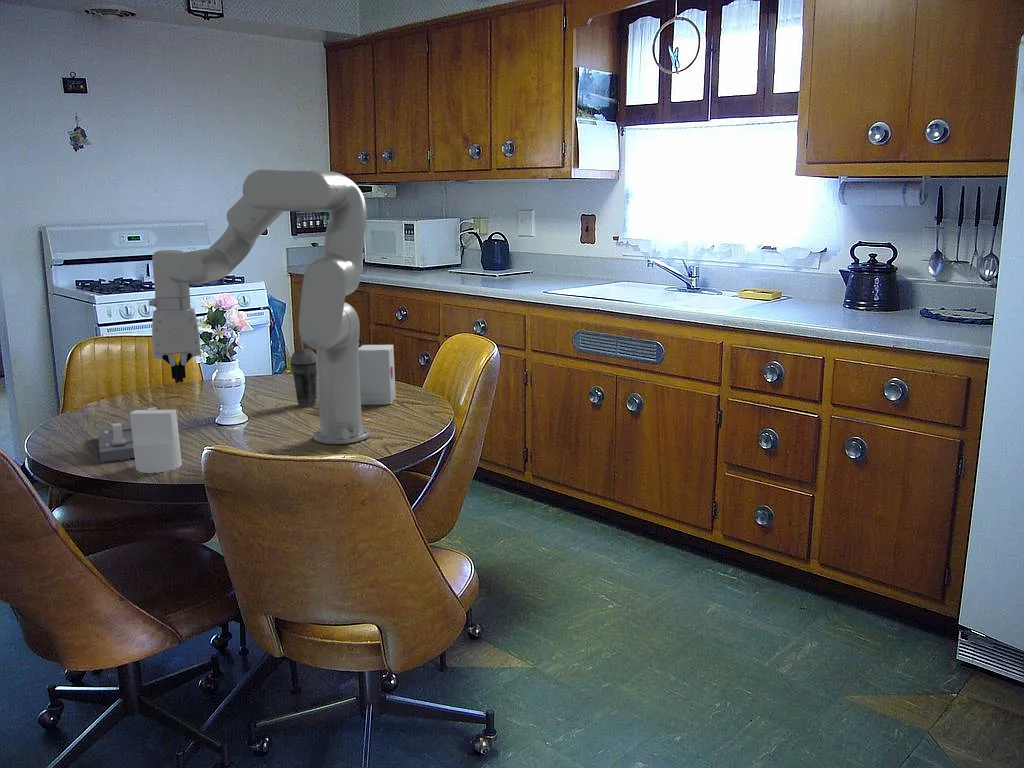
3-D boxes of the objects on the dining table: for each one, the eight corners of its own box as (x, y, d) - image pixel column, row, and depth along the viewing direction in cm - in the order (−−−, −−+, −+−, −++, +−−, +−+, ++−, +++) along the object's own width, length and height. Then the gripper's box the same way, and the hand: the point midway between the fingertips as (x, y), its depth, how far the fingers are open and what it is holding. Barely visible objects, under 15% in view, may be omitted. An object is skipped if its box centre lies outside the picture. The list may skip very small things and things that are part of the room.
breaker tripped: (161, 426, 209) (159, 409, 208) (148, 428, 208) (146, 410, 207) (160, 423, 212) (158, 406, 211) (147, 424, 211) (145, 407, 210)
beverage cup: (324, 402, 242) (319, 329, 238) (316, 408, 235) (311, 333, 231) (298, 401, 243) (293, 329, 238) (289, 408, 236) (284, 333, 231)
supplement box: (391, 405, 237) (389, 349, 234) (358, 405, 238) (355, 350, 234) (396, 397, 246) (394, 343, 243) (364, 397, 246) (361, 344, 243)
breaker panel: (180, 452, 197) (179, 441, 196) (100, 463, 190) (99, 451, 190) (171, 429, 216) (170, 419, 216) (99, 438, 210) (97, 427, 209)
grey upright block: (188, 460, 191) (183, 406, 189) (171, 473, 182) (165, 416, 180) (147, 460, 191) (141, 406, 189) (128, 474, 183) (121, 417, 180)
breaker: (126, 444, 195) (124, 425, 194) (112, 445, 194) (110, 427, 193) (125, 440, 198) (123, 421, 197) (111, 441, 197) (109, 423, 196)
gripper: (139, 307, 200) (146, 387, 204) (209, 304, 206) (214, 382, 210) (137, 303, 207) (144, 381, 211) (205, 300, 213) (210, 375, 217)
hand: (179, 381), depth 211 cm, fingers closed
